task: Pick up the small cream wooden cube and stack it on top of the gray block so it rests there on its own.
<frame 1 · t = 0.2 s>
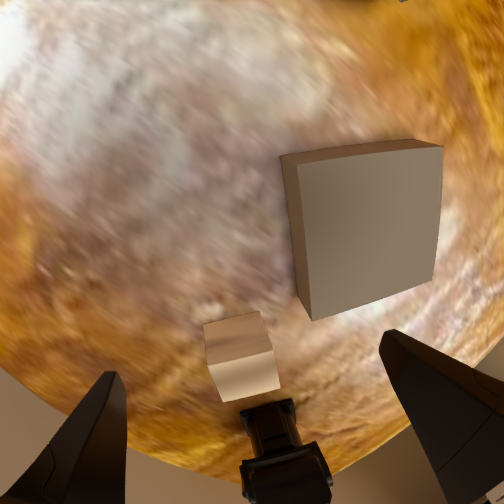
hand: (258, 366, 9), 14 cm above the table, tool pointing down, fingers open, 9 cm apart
gray block: (357, 215, 24), on the table
cream cube: (236, 337, 27), on the table
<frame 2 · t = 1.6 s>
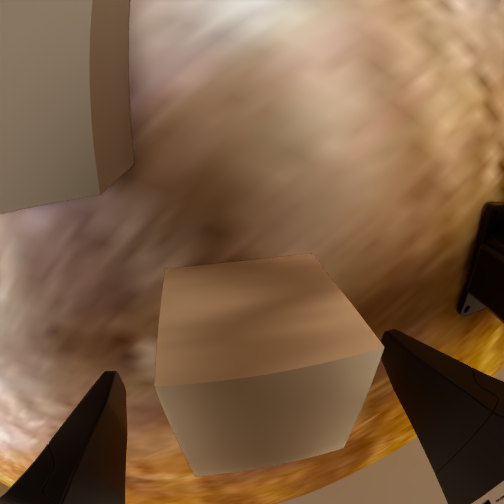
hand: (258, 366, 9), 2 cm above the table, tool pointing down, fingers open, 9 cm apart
cream cube: (242, 319, 11), on the table
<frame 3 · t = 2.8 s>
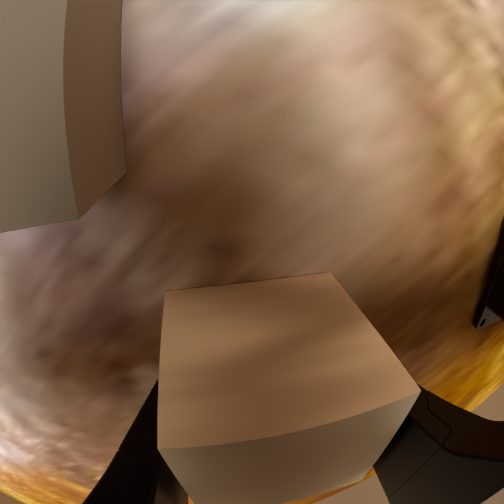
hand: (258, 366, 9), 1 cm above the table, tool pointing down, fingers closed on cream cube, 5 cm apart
cream cube: (252, 344, 10), on the table, touching gripper
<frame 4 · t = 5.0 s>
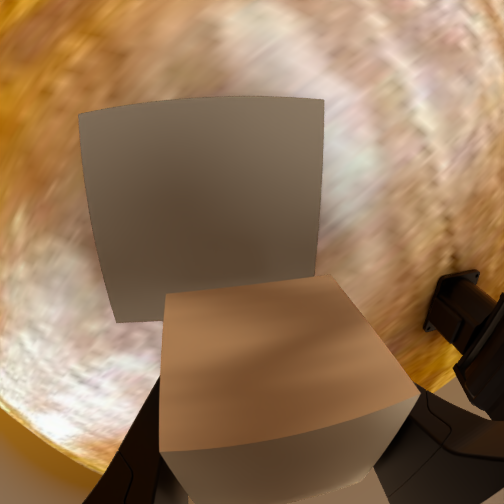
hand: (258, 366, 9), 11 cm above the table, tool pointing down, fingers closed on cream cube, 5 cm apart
gray block: (203, 198, 19), on the table
cream cube: (253, 346, 10), point 10 cm above the table, touching gripper
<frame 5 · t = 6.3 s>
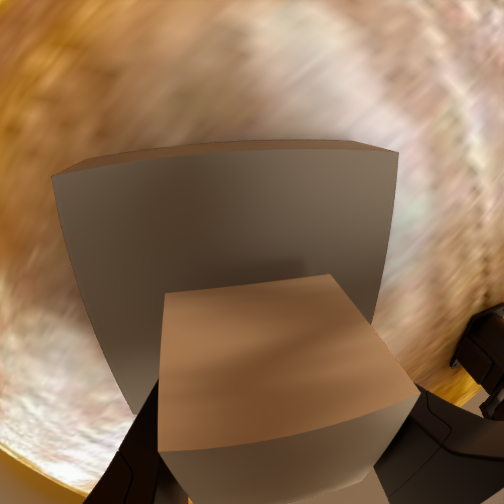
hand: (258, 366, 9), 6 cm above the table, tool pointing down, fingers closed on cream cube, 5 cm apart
gray block: (229, 265, 15), on the table
cream cube: (252, 346, 10), point 5 cm above the table, touching gripper
when the fingers open (6 cm above the table, at t = 7.2 s): cream cube drops 1 cm, point 4 cm above the table.
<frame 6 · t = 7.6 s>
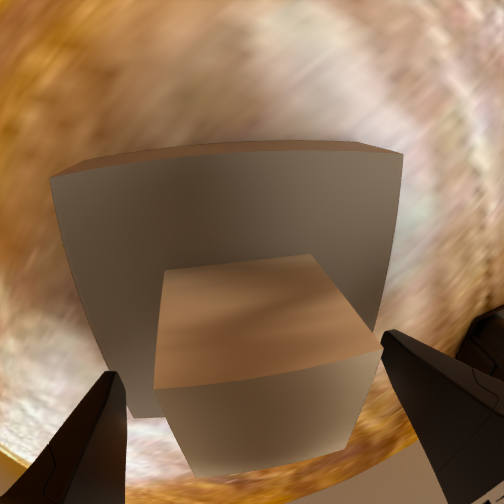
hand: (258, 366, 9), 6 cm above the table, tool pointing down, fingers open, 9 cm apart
gray block: (230, 268, 15), on the table
cream cube: (242, 320, 11), point 4 cm above the table
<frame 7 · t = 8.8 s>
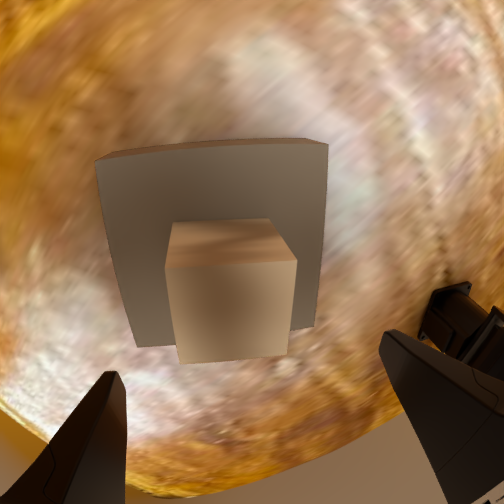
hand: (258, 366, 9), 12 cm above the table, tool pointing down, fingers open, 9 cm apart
gray block: (214, 230, 20), on the table
cream cube: (221, 262, 17), point 4 cm above the table
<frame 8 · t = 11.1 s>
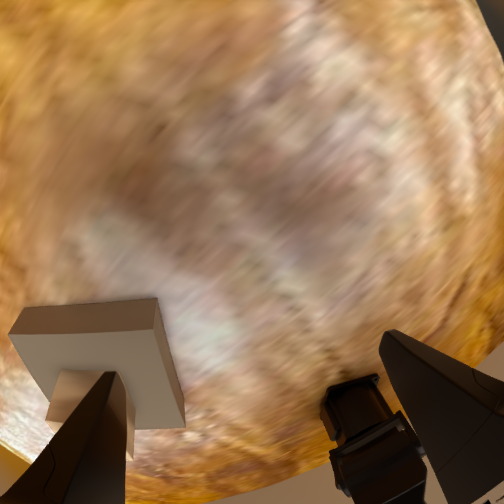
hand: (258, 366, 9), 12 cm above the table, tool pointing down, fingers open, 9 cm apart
gray block: (106, 356, 23), on the table, touching cream cube
cream cube: (99, 391, 20), point 3 cm above the table, touching gray block
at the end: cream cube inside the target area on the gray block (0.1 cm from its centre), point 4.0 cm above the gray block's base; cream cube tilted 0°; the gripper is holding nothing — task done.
